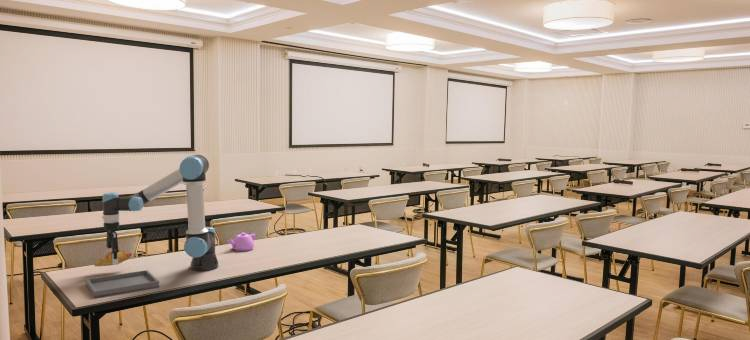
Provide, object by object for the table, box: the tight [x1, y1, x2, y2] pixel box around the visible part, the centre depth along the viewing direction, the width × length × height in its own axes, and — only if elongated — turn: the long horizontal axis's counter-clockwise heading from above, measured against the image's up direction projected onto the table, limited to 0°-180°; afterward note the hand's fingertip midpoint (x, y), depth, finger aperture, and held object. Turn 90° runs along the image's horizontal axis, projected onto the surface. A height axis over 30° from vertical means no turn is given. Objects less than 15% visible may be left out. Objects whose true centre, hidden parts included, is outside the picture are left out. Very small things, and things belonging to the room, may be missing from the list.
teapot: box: [227, 232, 256, 252], centre depth 337 cm, size 14×20×11 cm
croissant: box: [93, 250, 133, 267], centre depth 279 cm, size 21×10×8 cm, turn 151°
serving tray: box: [85, 269, 160, 299], centre depth 261 cm, size 29×22×3 cm
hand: (113, 262), depth 279 cm, fingers closed on croissant, 10 cm apart
